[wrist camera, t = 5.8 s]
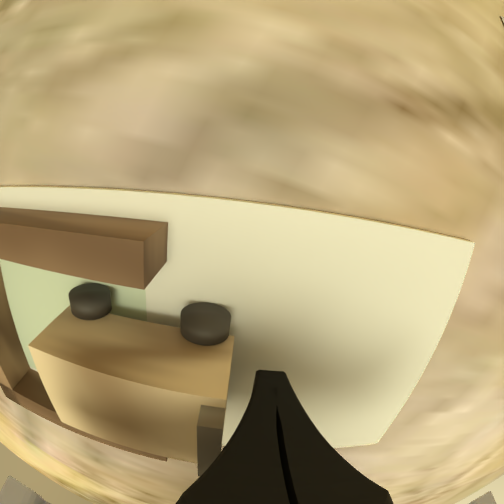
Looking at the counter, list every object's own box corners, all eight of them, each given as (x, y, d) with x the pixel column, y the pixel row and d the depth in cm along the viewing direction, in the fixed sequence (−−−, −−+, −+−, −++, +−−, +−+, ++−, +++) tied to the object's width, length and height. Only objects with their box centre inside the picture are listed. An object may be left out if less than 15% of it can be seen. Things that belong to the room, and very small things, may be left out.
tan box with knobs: (238, 306, 11) (225, 404, 6) (226, 405, 13) (216, 489, 8) (79, 279, 11) (9, 339, 6) (98, 377, 12) (60, 442, 8)
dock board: (375, 439, 15) (377, 443, 14) (28, 382, 14) (25, 385, 14) (470, 240, 10) (475, 243, 10) (-18, 186, 10) (-23, 187, 9)
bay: (174, 429, 14) (166, 461, 11) (22, 376, 13) (6, 396, 11) (168, 222, 10) (143, 241, 7) (-20, 205, 9) (-50, 216, 7)
